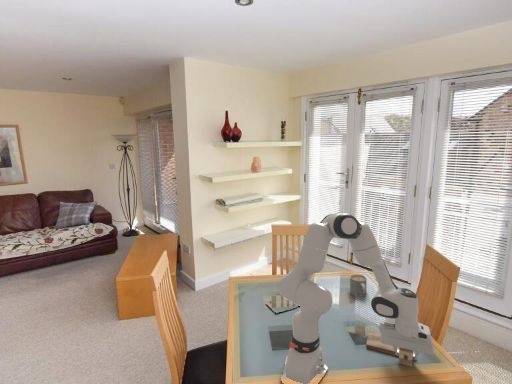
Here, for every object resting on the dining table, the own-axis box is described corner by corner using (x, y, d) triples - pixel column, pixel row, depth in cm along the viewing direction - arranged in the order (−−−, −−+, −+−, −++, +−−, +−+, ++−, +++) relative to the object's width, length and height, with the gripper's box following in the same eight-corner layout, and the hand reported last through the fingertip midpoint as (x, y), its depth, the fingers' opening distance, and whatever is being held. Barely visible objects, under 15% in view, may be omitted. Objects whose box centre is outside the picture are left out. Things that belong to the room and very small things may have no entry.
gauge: (412, 368, 120) (412, 355, 119) (399, 365, 123) (399, 352, 122) (412, 345, 134) (412, 334, 133) (400, 343, 136) (400, 331, 135)
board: (415, 360, 125) (415, 356, 125) (366, 348, 135) (366, 344, 134) (414, 345, 135) (414, 341, 134) (369, 334, 144) (369, 330, 144)
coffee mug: (348, 288, 192) (348, 274, 191) (364, 288, 191) (363, 274, 190) (353, 298, 179) (353, 283, 178) (370, 298, 178) (370, 283, 177)
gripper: (379, 325, 124) (379, 354, 126) (434, 337, 115) (433, 368, 117) (380, 317, 130) (380, 345, 132) (433, 328, 120) (432, 358, 122)
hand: (405, 356), depth 124 cm, fingers closed on gauge, 5 cm apart
